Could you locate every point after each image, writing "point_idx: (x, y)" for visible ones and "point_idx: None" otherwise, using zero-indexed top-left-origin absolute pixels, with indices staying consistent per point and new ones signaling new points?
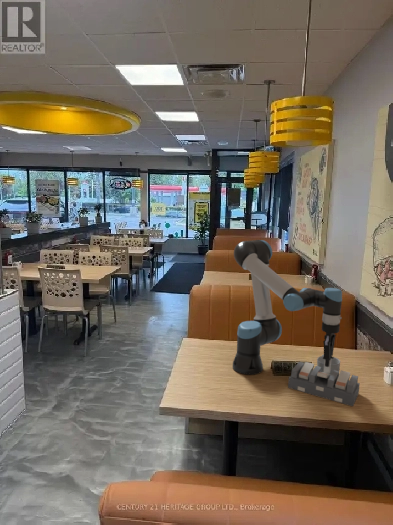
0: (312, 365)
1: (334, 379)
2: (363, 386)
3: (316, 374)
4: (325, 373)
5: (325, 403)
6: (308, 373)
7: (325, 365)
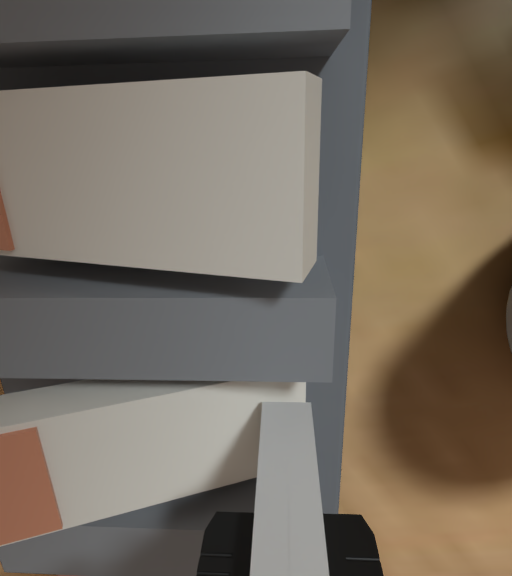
0: (240, 262)
1: (51, 572)
2: (474, 551)
3: (39, 370)
4: (170, 457)
5: (3, 390)
6: (10, 247)
7: (203, 536)
